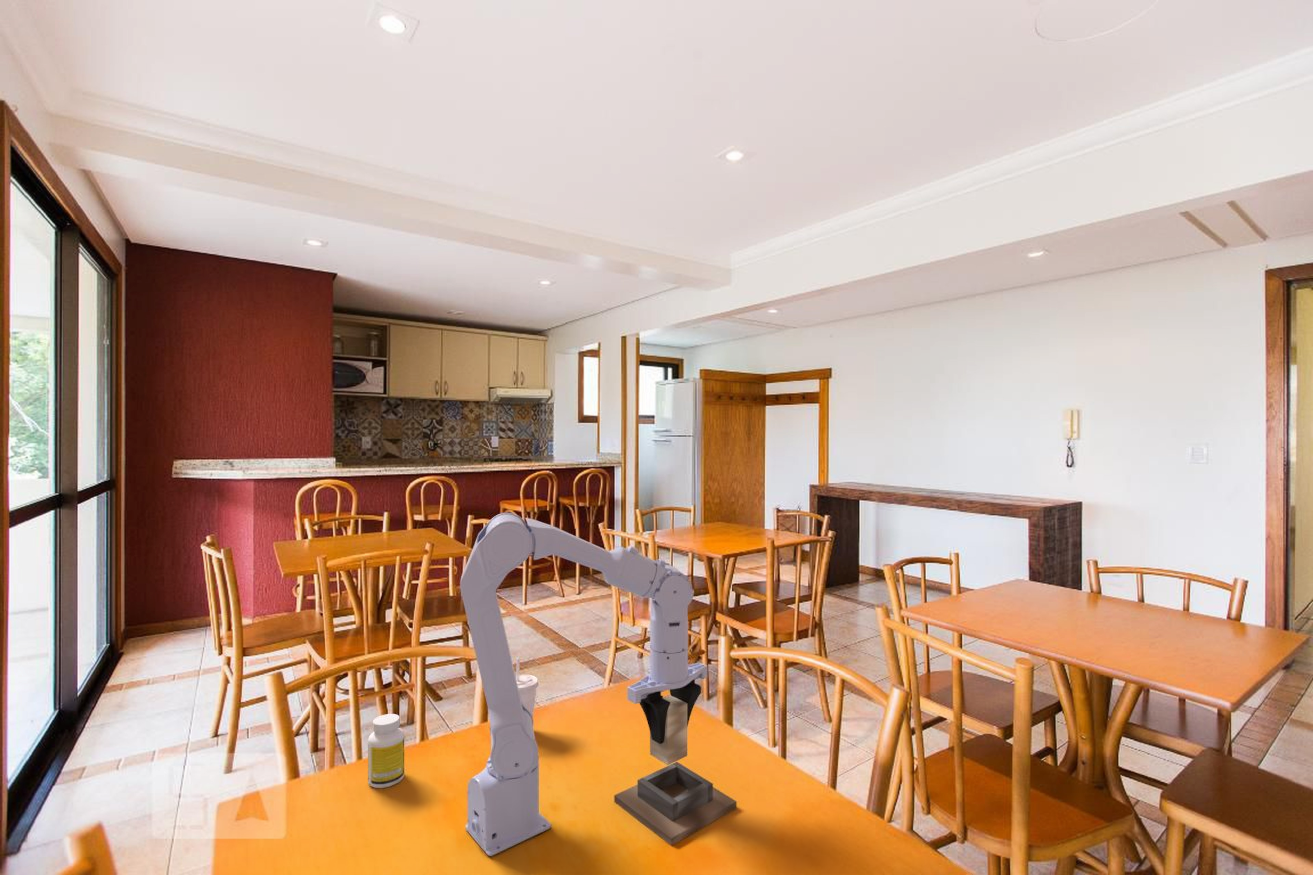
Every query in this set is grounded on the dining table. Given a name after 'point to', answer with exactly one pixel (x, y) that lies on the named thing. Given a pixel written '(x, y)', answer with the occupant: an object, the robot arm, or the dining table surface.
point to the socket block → (675, 802)
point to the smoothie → (526, 688)
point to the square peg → (672, 733)
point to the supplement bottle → (386, 752)
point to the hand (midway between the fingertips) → (669, 735)
